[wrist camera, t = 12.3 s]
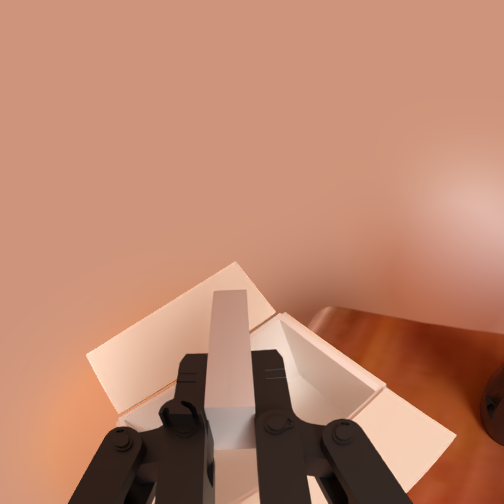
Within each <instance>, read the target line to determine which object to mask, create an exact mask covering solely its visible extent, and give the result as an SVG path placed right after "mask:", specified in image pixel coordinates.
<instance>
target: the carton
mask: <svg viewBox="0 0 504 504" xmlns="http://www.w3.org/2000/svg"><path fill="white" fill-rule="evenodd" d="M250 346H251V351H255V350H270V349H276V350H277V351H278V352H279V353H280V355H281V356H282V357H283V361H284V366H285V371H286V378H287V382H288V388H289V393H290V399H291V404H292V409H293V411H294V413H295V414H296V416H297V417H299V418H300V419H301V420H303V421H305V422H308V423H312V424H318V425H327V424H328V423H330V422H331V421H333V420H337V419H350V420H352V421H354V422H356V423H357V424H358V425H359V426H361V427H362V429H363V430H364V432H365V433H366V435H367V436H368V438H369V439H370V441H371V442H372V444H373V445H374V447H375V448H376V450H377V451H378V453H379V454H380V456H381V457H382V459H383V460H384V462H385V463H386V465H387V466H388V468H389V469H390V470H391V472H392V473H393V475H394V476H395V478H396V479H397V481H398V482H399V484H400V485H401V487H402V488H403V490H404V491H405V493H407V492H408V491H409V490H410V489H411V488H412V487H413V486H414V485H415V484H416V483H417V482H418V480H419V479H420V478H421V477H422V476H423V475H424V474H425V473H426V472H427V471H428V470H429V468H430V467H431V466H432V465H433V464H434V463H435V462H436V460H437V459H438V458H439V457H440V456H441V455H442V453H443V452H444V451H445V450H446V448H447V447H448V446H449V445H450V443H451V442H452V441H453V440H454V438H455V437H456V434H454V433H453V432H451V431H450V430H448V429H447V428H445V427H444V426H442V425H441V424H439V423H438V422H436V421H435V420H433V419H432V418H430V417H429V416H427V415H426V414H424V413H423V412H421V411H420V410H418V409H417V408H415V407H414V406H412V405H411V404H410V403H408V402H407V401H405V400H404V399H402V398H401V397H399V396H398V395H396V394H395V393H394V392H392V391H391V390H389V389H388V388H386V384H385V383H384V382H383V381H381V380H380V379H378V378H377V377H375V376H374V375H372V374H371V373H370V372H368V371H367V370H365V369H364V368H362V367H361V366H360V365H358V364H357V363H355V362H354V361H352V360H351V359H350V358H348V357H347V356H345V355H344V354H343V353H341V352H340V351H338V350H337V349H336V348H334V347H333V346H331V345H330V344H329V343H327V342H326V341H324V340H323V339H322V338H320V337H319V336H317V335H316V334H315V333H313V332H312V331H311V330H309V329H308V328H306V327H305V326H303V325H302V324H301V323H299V322H298V321H297V320H295V319H294V318H292V317H291V316H290V315H288V314H287V313H286V312H284V313H283V314H280V313H279V314H278V315H276V316H275V317H274V318H272V319H271V320H269V321H268V322H266V323H265V324H264V325H262V326H261V327H259V328H258V329H257V330H255V331H254V332H252V333H251V334H250ZM175 388H176V383H175V384H174V385H172V386H171V387H169V388H167V389H166V390H164V391H163V392H161V393H159V394H158V395H156V396H154V397H153V398H151V399H149V400H148V401H146V402H144V403H143V404H141V405H140V406H138V407H136V408H134V409H133V410H131V411H130V412H128V413H126V414H125V415H123V416H121V417H119V418H118V419H119V421H117V422H116V425H117V427H122V426H126V427H131V428H133V429H135V430H137V432H138V433H139V432H143V431H148V430H153V429H156V428H159V427H160V426H162V425H163V423H162V421H161V419H160V416H159V414H158V412H159V410H160V408H161V406H162V405H163V404H164V403H165V402H167V401H169V400H171V399H173V398H174V394H175ZM214 460H215V504H260V499H259V486H258V472H257V457H256V448H253V449H227V450H215V448H214ZM307 479H308V484H309V490H310V496H311V502H312V504H328V502H327V500H326V499H325V497H324V495H323V493H322V491H321V489H320V487H319V485H318V483H317V481H316V479H315V477H314V476H307ZM154 503H155V497H154V500H153V502H152V504H154Z"/></svg>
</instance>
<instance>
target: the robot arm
mask: <svg viewBox="0 0 504 504" xmlns="http://www.w3.org/2000/svg"><path fill="white" fill-rule="evenodd" d="M158 414H159V416H160V419H161V421H162V423H163V425H162V426H160V427H159V428H156V429H153V430H148V431H143V432H139V433H138V432H137V430H135V429H133V428H131V427H126V426H122V427H116V428H114V429H113V430H111V431H110V432H109V433H108V434H107V435H106V436H105V438H104V440H103V441H102V443H101V445H100V447H99V449H98V450H97V452H96V454H95V455H94V457H93V459H92V461H91V463H90V464H89V466H88V468H87V470H86V471H85V474H84V475H83V477H82V479H81V481H80V482H79V484H78V486H77V488H76V490H75V491H74V493H73V495H72V497H71V499H70V501H69V502H68V504H152V502H153V500H154V497H155V503H154V504H215V460H214V448H215V450H227V449H253V448H256V457H257V472H258V486H259V499H260V504H312V502H311V496H310V490H309V484H308V479H307V476H314V477H315V479H316V481H317V483H318V485H319V487H320V489H321V491H322V493H323V495H324V497H325V499H326V500H327V502H328V504H413V503H412V501H411V500H410V499H409V497H408V496H407V494H406V493H405V491H404V490H403V488H402V487H401V485H400V484H399V482H398V481H397V479H396V478H395V476H394V475H393V473H392V472H391V470H390V469H389V468H388V466H387V465H386V463H385V462H384V460H383V459H382V457H381V456H380V454H379V453H378V451H377V450H376V448H375V447H374V445H373V444H372V442H371V441H370V439H369V438H368V436H367V435H366V433H365V432H364V430H363V429H362V427H361V426H359V425H358V424H357V423H356V422H354V421H352V420H350V419H337V420H333V421H331V422H330V423H328V424H327V425H318V424H312V423H308V422H305V421H303V420H301V419H300V418H299V417H297V416H296V414H295V413H294V411H293V409H292V404H291V399H290V393H289V388H288V382H287V378H286V371H285V366H284V361H283V357H282V356H281V355H280V353H279V352H278V351H277V350H276V349H270V350H255V351H251V346H250V333H249V318H248V304H247V290H246V289H243V290H223V291H213V302H212V313H211V324H210V336H209V348H208V353H196V354H186V355H185V356H184V357H183V359H182V360H181V361H180V363H179V369H178V375H177V383H176V388H175V394H174V398H173V399H171V400H169V401H167V402H165V403H164V404H163V405H162V406H161V408H160V410H159V412H158ZM481 418H482V422H483V425H484V427H485V429H486V431H487V432H488V434H489V435H490V436H491V437H492V438H493V439H494V440H495V441H496V442H498V443H499V444H501V445H503V446H504V364H503V365H502V366H501V367H500V368H499V369H498V370H497V371H496V372H495V373H494V374H493V376H492V377H491V378H490V380H489V382H488V384H487V386H486V388H485V390H484V393H483V396H482V399H481Z"/></svg>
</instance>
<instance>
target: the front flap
mask: <svg viewBox="0 0 504 504" xmlns="http://www.w3.org/2000/svg"><path fill="white" fill-rule="evenodd" d="M243 289H246V290H247V304H248V318H249V332H250V331H251V330H252V329H254V328H255V327H257V326H258V325H260V324H261V323H262V322H264V321H265V320H267V319H268V318H270V317H271V316H272V315H274V314H275V313H276V311H275V310H274V309H273V308H272V306H271V305H270V304H269V303H268V301H267V300H266V299H265V298H264V296H263V295H262V294H261V292H260V291H259V290H258V289H257V288H256V286H255V285H254V284H253V282H252V281H251V280H250V279H249V277H248V276H247V275H246V273H245V272H244V271H243V270H242V269H241V267H240V266H239V265H238V263H237V262H236V261H235V262H234V263H232V264H230V265H229V266H227V267H226V268H224V269H222V270H221V271H219V272H218V273H216V274H214V275H213V276H211V277H209V278H208V279H206V280H205V281H203V282H201V283H200V284H198V285H197V286H195V287H193V288H192V289H190V290H189V291H187V292H186V293H184V294H182V295H181V296H179V297H178V298H176V299H174V300H173V301H171V302H169V303H168V304H166V305H165V306H163V307H162V308H160V309H158V310H157V311H155V312H153V313H152V314H150V315H149V316H147V317H145V318H144V319H143V320H141V321H139V322H137V323H136V324H134V325H133V326H131V327H129V328H128V329H126V330H125V331H123V332H121V333H120V334H118V335H117V336H115V337H113V338H112V339H110V340H109V341H107V342H106V343H104V344H102V345H101V346H99V347H98V348H96V349H94V350H93V351H91V352H90V353H88V354H86V356H87V358H88V360H89V362H90V364H91V366H92V368H93V370H94V372H95V374H96V376H97V377H98V379H99V381H100V383H101V385H102V386H103V388H104V390H105V392H106V394H107V395H108V397H109V399H110V401H111V402H112V404H113V406H114V407H115V409H116V411H117V412H118V414H121V413H123V412H124V411H126V410H128V409H130V408H131V407H133V406H135V405H136V404H138V403H140V402H141V401H143V400H145V399H146V398H148V397H150V396H151V395H153V394H155V393H156V392H158V391H160V390H161V389H163V388H164V387H166V386H168V385H169V384H171V383H172V382H174V381H176V380H177V375H178V369H179V363H180V361H181V360H182V359H183V357H184V356H185V355H186V354H196V353H208V348H209V336H210V324H211V313H212V302H213V291H223V290H243Z"/></svg>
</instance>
